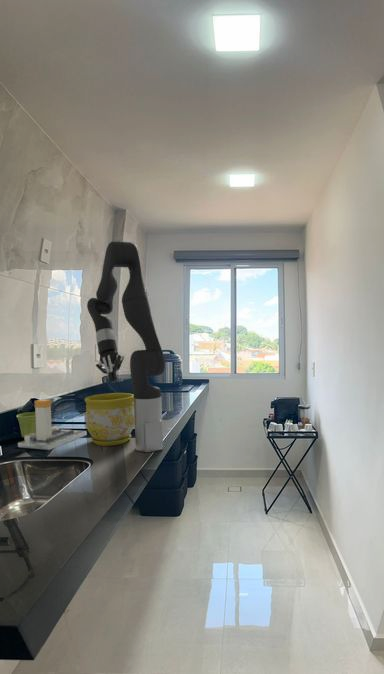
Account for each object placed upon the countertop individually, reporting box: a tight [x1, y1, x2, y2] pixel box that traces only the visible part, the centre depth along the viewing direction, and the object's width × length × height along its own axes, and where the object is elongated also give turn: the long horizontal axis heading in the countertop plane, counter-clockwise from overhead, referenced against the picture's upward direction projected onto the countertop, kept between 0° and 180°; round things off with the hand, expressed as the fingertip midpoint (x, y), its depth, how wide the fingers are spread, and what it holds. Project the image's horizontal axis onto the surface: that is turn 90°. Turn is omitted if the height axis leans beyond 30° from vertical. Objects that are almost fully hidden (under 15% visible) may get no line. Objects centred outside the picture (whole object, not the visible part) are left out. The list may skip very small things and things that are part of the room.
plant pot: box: [16, 411, 36, 439], centre depth 157 cm, size 9×9×9 cm
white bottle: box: [34, 399, 52, 441], centre depth 143 cm, size 5×3×14 cm
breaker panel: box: [17, 425, 88, 451], centre depth 148 cm, size 14×21×4 cm, turn 158°
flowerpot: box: [84, 392, 135, 447], centre depth 144 cm, size 18×18×16 cm
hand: (113, 382), depth 156 cm, fingers closed
